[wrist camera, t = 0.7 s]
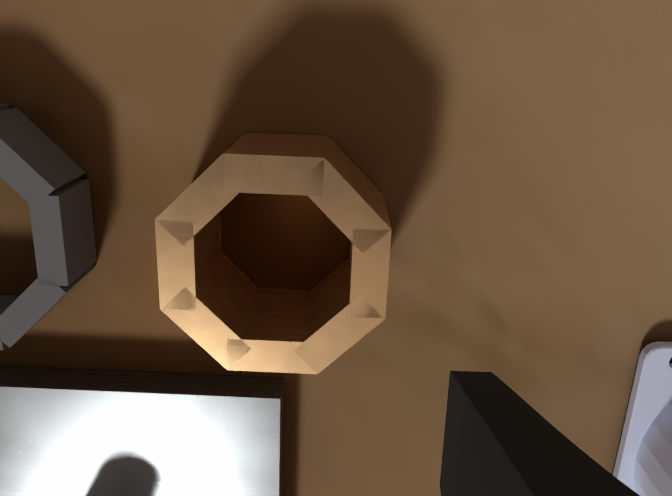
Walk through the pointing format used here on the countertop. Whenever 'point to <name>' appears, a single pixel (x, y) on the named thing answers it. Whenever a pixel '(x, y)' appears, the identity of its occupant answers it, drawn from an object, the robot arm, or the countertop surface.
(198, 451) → the piston stand
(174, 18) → the countertop surface
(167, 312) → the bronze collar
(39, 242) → the grey octagonal ring
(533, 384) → the countertop surface
